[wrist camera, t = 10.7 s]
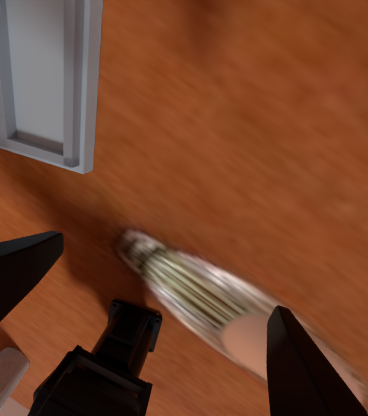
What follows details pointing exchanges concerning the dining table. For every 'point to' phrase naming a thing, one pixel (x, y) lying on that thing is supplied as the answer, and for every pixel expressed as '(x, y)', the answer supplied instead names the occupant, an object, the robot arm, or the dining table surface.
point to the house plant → (11, 371)
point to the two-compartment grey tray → (50, 80)
